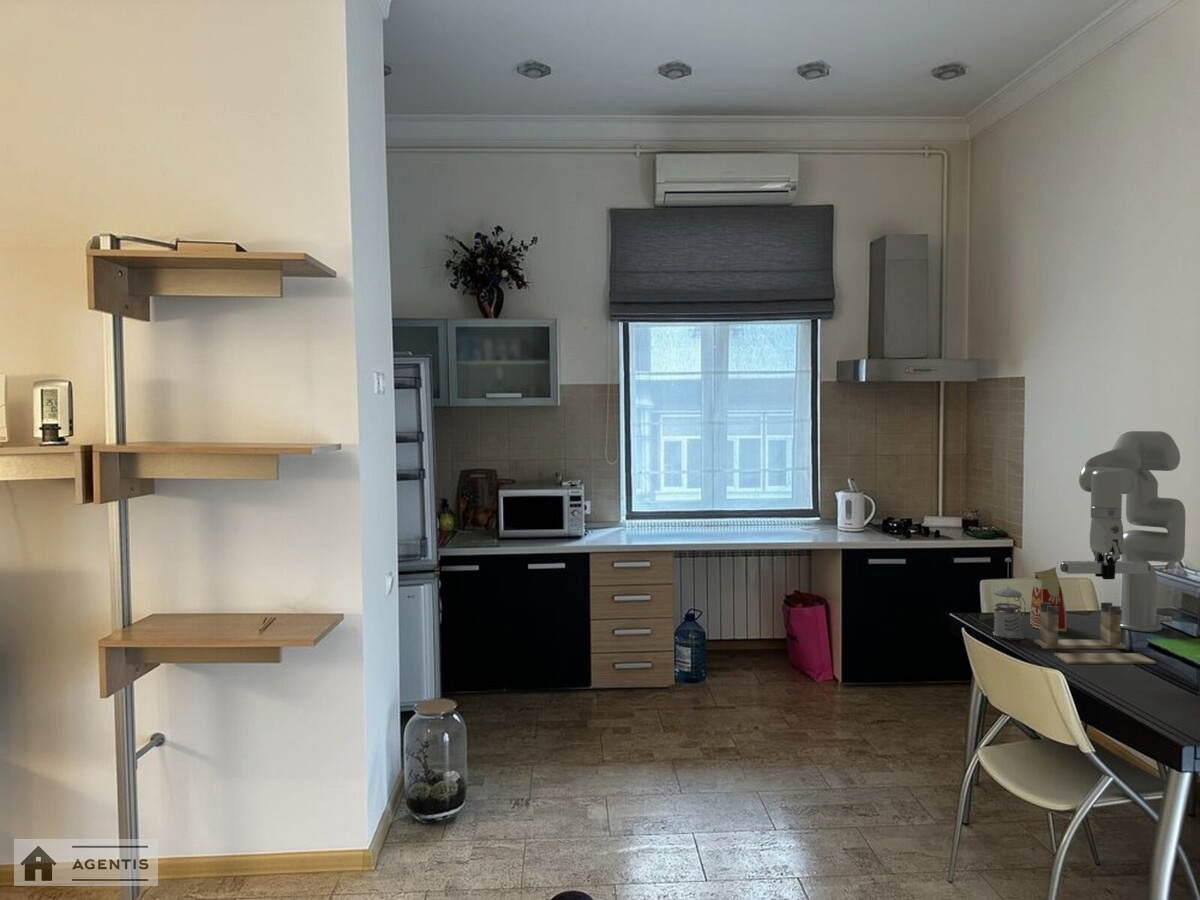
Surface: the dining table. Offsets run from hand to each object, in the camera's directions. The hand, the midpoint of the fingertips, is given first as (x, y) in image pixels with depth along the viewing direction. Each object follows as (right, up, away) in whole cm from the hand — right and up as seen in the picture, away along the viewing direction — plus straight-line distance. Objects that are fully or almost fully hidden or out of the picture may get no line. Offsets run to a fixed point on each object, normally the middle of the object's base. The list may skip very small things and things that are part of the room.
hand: (1105, 577), depth 242 cm
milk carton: (+3, -22, +36) cm, 43 cm away
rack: (+1, -23, +15) cm, 28 cm away
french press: (-14, -23, +27) cm, 38 cm away
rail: (0, +1, 0) cm, 1 cm away
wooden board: (0, -24, +1) cm, 24 cm away
